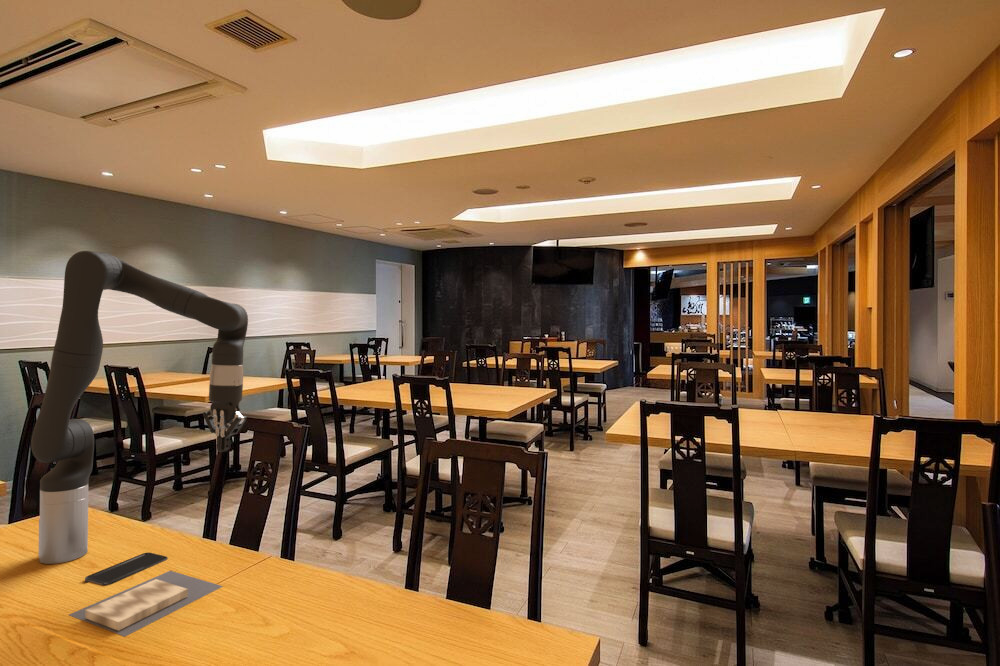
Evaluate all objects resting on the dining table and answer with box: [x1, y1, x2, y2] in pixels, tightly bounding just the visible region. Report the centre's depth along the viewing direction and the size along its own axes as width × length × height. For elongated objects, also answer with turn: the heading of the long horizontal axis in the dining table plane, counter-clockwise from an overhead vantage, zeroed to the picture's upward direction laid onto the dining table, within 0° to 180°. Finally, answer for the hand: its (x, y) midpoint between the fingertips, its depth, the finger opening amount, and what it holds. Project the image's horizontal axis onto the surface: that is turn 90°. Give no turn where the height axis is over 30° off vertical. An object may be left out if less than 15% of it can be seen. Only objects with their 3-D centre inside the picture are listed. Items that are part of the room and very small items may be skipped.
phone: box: [84, 552, 169, 587], centre depth 125 cm, size 8×1×15 cm
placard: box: [85, 579, 188, 631], centre depth 109 cm, size 10×2×14 cm
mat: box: [68, 570, 224, 637], centre depth 112 cm, size 17×21×1 cm
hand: (222, 451), depth 135 cm, fingers closed
